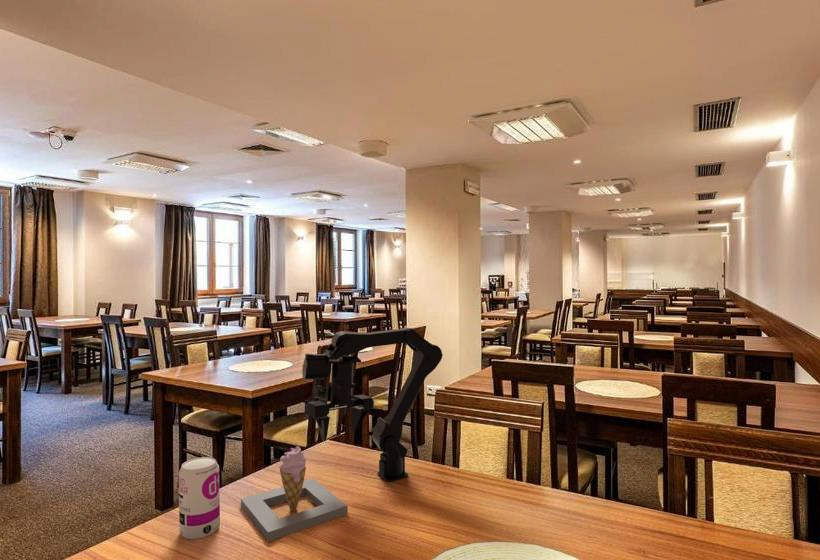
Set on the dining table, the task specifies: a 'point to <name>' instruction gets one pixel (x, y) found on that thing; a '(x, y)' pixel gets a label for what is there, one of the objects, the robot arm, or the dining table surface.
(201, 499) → the supplement can
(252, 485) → the dining table surface
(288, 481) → the ice cream cone
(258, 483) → the dining table surface
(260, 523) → the grey flat square frame
